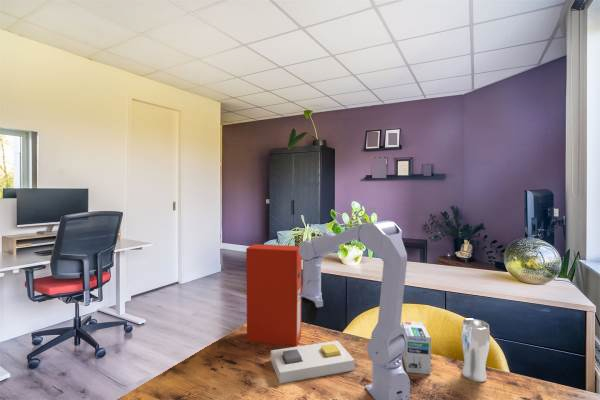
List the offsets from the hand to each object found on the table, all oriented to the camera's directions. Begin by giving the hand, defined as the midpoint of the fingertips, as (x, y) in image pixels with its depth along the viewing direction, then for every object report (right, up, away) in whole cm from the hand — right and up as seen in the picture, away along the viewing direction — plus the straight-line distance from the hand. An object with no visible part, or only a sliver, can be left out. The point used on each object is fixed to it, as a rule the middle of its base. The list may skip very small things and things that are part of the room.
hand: (311, 321), depth 100 cm
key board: (0, -11, -6) cm, 12 cm away
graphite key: (-6, -10, -8) cm, 14 cm away
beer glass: (+45, -11, -11) cm, 48 cm away
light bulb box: (+31, -11, -5) cm, 33 cm away
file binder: (-12, -10, +10) cm, 19 cm away
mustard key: (+6, -10, -4) cm, 12 cm away
